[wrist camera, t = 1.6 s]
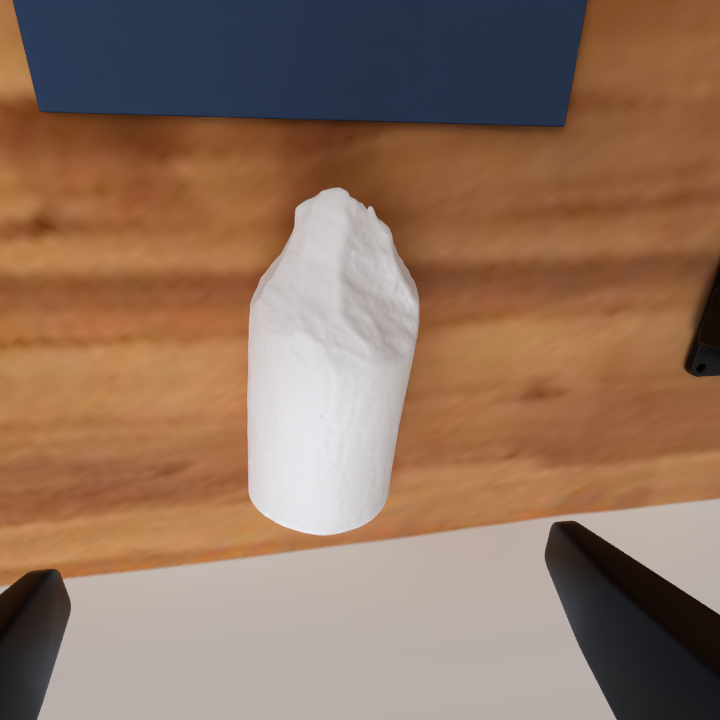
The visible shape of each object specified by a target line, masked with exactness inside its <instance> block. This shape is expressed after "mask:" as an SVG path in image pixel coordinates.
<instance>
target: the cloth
mask: <svg viewBox="0 0 720 720" xmlns="http://www.w3.org/2000/svg"><path fill="white" fill-rule="evenodd" d="M13 4H14V8H15V12H16V16H17V20H18V24H19V28H20V33H21V37H22V41H23V45H24V49H25V53H26V57H27V61H28V65H29V69H30V73H31V77H32V82H33V86H34V90H35V94H36V98H37V102H38V106H39V110H40V111H41V112H53V113H89V114H124V115H160V116H195V117H231V118H266V119H301V120H337V121H372V122H408V123H443V124H479V125H514V126H550V127H563V126H564V125H565V120H566V115H567V109H568V104H569V98H570V93H571V87H572V82H573V76H574V71H575V65H576V60H577V54H578V49H579V43H580V38H581V32H582V27H583V21H584V16H585V10H586V5H587V0H13Z"/></svg>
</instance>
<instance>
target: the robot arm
mask: <svg viewBox="0 0 720 720" xmlns="http://www.w3.org/2000/svg"><path fill="white" fill-rule="evenodd" d="M685 369H686V371H687V372H688V373H690V374H692V375H694V376H697V377H701V376H719V375H720V267H719V270H718V273H717V276H716V279H715V282H714V285H713V287H712V290H711V293H710V296H709V299H708V302H707V305H706V307H705V310H704V313H703V316H702V319H701V322H700V325H699V328H698V330H697V333H696V336H695V339H694V342H693V345H692V348H691V350H690V353H689V356H688V359H687V362H686V365H685ZM545 561H546V565H547V568H548V570H549V573H550V575H551V578H552V580H553V582H554V585H555V588H556V590H557V593H558V595H559V597H560V600H561V603H562V605H563V607H564V610H565V613H566V615H567V618H568V620H569V623H570V625H571V627H572V630H573V632H574V635H575V637H576V639H577V642H578V644H579V646H580V648H581V650H582V653H583V654H584V657H585V659H586V661H587V663H588V665H589V666H590V668H591V670H592V672H593V674H594V676H595V678H596V680H597V682H598V684H599V686H600V688H601V690H602V692H603V694H604V696H605V698H606V700H607V702H608V704H609V706H610V707H611V709H612V711H613V713H614V715H615V717H616V719H617V720H720V615H719V614H718V613H716V612H715V611H713V610H711V609H710V608H708V607H707V606H705V605H704V604H702V603H701V602H699V601H698V600H696V599H695V598H693V597H692V596H690V595H688V594H687V593H685V592H684V591H682V590H680V589H679V588H678V587H676V586H675V585H673V584H672V583H670V582H668V581H667V580H665V579H664V578H662V577H661V576H659V575H658V574H656V573H655V572H653V571H651V570H650V569H648V568H647V567H645V566H644V565H642V564H641V563H639V562H637V561H636V560H634V559H633V558H632V557H630V556H628V555H627V554H625V553H624V552H622V551H621V550H619V549H618V548H616V547H615V546H613V545H611V544H610V543H608V542H607V541H605V540H604V539H602V538H601V537H599V536H597V535H596V534H595V533H593V532H591V531H590V530H588V529H587V528H585V527H584V526H582V525H581V524H579V523H577V522H575V521H562V522H555V523H554V524H553V525H552V526H551V529H550V533H549V537H548V542H547V546H546V550H545ZM70 610H71V603H70V598H69V596H68V593H67V590H66V588H65V585H64V582H63V579H62V577H61V574H60V572H59V571H58V570H56V569H46V570H35V571H31V572H29V573H27V574H25V575H24V576H23V577H21V578H20V579H19V580H18V581H16V582H15V583H14V584H13V585H11V586H10V587H9V588H8V589H7V590H5V591H4V592H3V593H2V594H0V720H37V717H38V715H39V712H40V709H41V706H42V703H43V700H44V697H45V694H46V690H47V687H48V684H49V681H50V678H51V674H52V671H53V668H54V665H55V661H56V658H57V655H58V651H59V648H60V645H61V642H62V639H63V635H64V632H65V629H66V626H67V622H68V619H69V616H70Z"/></svg>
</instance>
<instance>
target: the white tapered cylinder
mask: <svg viewBox="0 0 720 720" xmlns="http://www.w3.org/2000/svg"><path fill="white" fill-rule="evenodd" d="M418 327H419V296H418V291H417V288H416V284H415V282H414V280H413V279H412V277H411V275H410V273H409V270H408V269H407V268H406V267H405V265H404V263H403V260H402V259H401V258H400V257H399V255H398V253H397V250H396V247H395V245H394V243H393V238H392V233H391V231H390V229H389V227H388V226H387V225H386V224H385V223H384V222H383V221H381V220H379V219H378V218H377V216H376V214H375V211H374V209H373V207H371V206H369V207H368V209H366V207H364V205H363V203H361V202H358V201H357V200H356V199H354V198H352V197H350V196H349V193H348V192H347V191H346V190H344V189H342V188H340V187H337V188H331V189H327V190H323V191H321V192H320V193H319V194H318V195H316V196H315V197H313V198H311V199H307V200H306V201H304V202H303V203H301V204H300V205H298V206H297V207H296V209H295V226H294V229H293V232H292V234H291V236H290V238H289V240H288V242H287V244H286V246H285V247H284V249H283V251H282V253H281V254H280V255H279V256H278V257H277V258H276V260H275V261H274V262H273V263H272V264H271V265H270V267H269V269H268V270H267V271H266V272H265V274H264V275H263V276H262V277H261V278H260V281H259V285H258V287H257V289H256V291H255V292H254V294H253V297H252V300H251V302H250V318H249V338H248V389H247V404H248V405H247V407H248V412H247V416H248V429H247V437H248V491H249V497H250V500H251V501H252V503H253V504H254V506H255V507H256V508H257V509H258V510H259V511H260V512H261V513H262V514H264V515H265V517H268V518H270V519H271V520H273V521H274V522H275V523H278V524H280V525H281V526H285V527H287V528H289V529H294V530H296V531H300V532H304V533H308V534H313V535H334V534H338V533H344V532H347V531H350V530H353V529H356V528H358V527H360V526H363V525H364V524H366V523H368V522H370V521H371V520H372V519H373V518H375V517H376V515H377V514H378V513H379V512H381V510H382V509H383V507H384V506H385V503H386V500H387V498H388V493H389V485H390V477H391V471H392V464H393V459H394V452H395V447H396V441H397V435H398V430H399V425H400V419H401V414H402V409H403V405H404V399H405V395H406V390H407V385H408V380H409V376H410V371H411V367H412V362H413V356H414V352H415V346H416V340H417V334H418Z"/></svg>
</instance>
